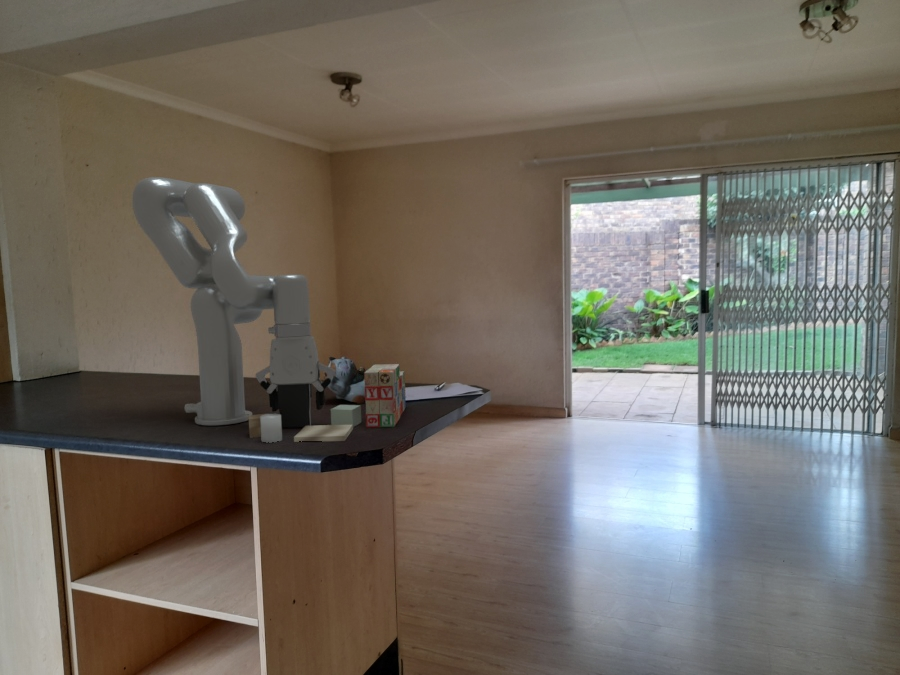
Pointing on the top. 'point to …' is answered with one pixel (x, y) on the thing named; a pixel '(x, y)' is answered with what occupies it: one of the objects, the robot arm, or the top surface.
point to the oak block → (255, 425)
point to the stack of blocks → (384, 395)
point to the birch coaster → (324, 433)
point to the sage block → (346, 415)
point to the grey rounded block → (271, 428)
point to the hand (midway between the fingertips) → (297, 409)
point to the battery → (295, 405)
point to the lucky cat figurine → (347, 380)
